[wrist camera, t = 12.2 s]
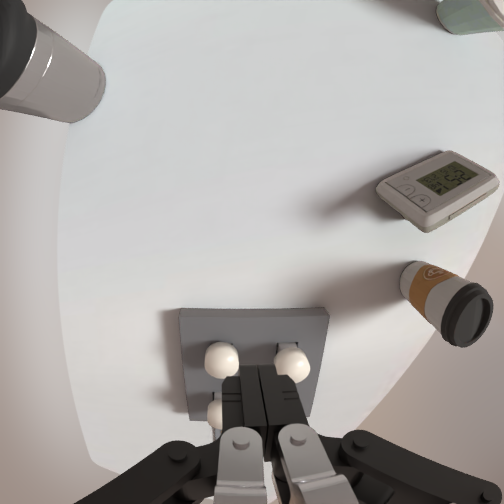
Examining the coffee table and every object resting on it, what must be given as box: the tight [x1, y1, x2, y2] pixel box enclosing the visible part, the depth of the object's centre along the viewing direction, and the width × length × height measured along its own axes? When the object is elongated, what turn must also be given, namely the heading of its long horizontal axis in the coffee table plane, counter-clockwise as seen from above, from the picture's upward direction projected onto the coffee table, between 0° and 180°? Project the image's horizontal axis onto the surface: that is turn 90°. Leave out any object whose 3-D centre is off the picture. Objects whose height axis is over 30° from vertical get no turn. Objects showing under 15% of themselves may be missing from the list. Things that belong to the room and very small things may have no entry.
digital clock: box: [376, 150, 500, 233], centre depth 33 cm, size 16×9×11 cm, turn 103°
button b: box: [207, 392, 222, 430], centre depth 40 cm, size 4×4×5 cm
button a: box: [205, 342, 239, 379], centre depth 39 cm, size 4×4×5 cm
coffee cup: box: [400, 261, 493, 347], centre depth 35 cm, size 8×8×15 cm
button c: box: [274, 342, 310, 383], centre depth 38 cm, size 4×4×5 cm
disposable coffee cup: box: [436, 0, 504, 35], centre depth 23 cm, size 11×11×15 cm
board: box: [179, 308, 330, 421], centre depth 42 cm, size 20×20×2 cm
